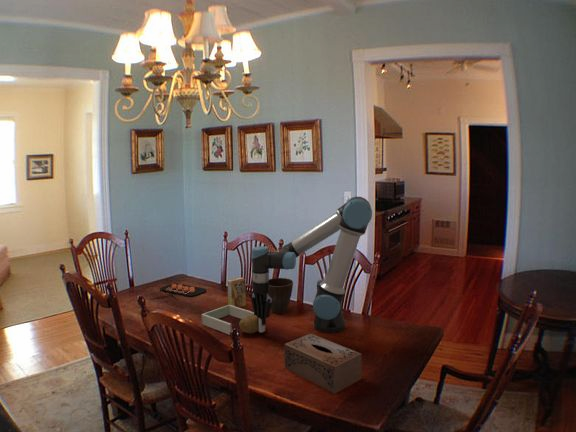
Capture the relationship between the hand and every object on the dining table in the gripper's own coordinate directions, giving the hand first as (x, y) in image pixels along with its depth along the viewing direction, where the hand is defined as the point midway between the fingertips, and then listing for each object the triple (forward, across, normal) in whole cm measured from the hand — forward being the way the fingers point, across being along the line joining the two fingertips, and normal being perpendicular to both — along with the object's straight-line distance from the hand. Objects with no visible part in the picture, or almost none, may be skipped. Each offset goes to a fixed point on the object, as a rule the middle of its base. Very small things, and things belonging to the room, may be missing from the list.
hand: (262, 331), depth 201 cm
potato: (+2, -6, 0) cm, 7 cm away
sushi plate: (+3, -84, +11) cm, 84 cm away
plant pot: (+2, -15, +28) cm, 32 cm away
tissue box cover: (+3, +42, -11) cm, 44 cm away
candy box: (+2, -38, +20) cm, 43 cm away
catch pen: (+2, -22, 0) cm, 22 cm away
